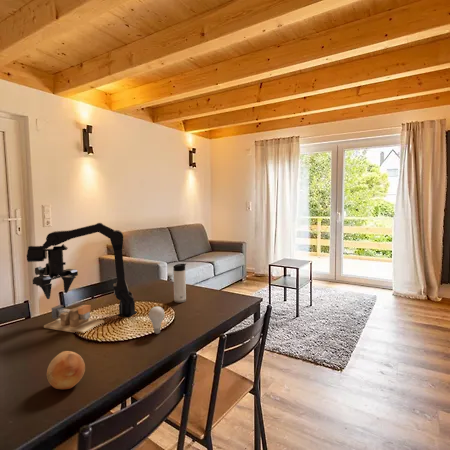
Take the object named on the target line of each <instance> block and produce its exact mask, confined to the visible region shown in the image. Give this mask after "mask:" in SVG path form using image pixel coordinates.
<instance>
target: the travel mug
mask: <svg viewBox="0 0 450 450" xmlns="http://www.w3.org/2000/svg"><path fill="white" fill-rule="evenodd" d="M186 264H187V263H177V264H175V265H173V272H172V273H173V301H174V302H175V303H179V304H181V303H185V302H187V293H186V292H187V291H186V290H187V287H186V284H187V283H186V278H187V277H186V266H187V265H186Z"/></svg>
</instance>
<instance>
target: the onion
mask: <svg viewBox="0 0 450 450" xmlns="http://www.w3.org/2000/svg"><path fill="white" fill-rule="evenodd" d="M85 371H86V364H85V360H84V359H83V358H82V356H81V355H80V354H78V353H77V352H75V351H71V350H62V351H61V352H60V353H58V354H57V355H56V356H54V357H53V358H52V360H51V361H50V362H49V364H48V366H47V370H46V378H47V381H48V383H49V384H50V385H51V387H53V388H54V389H57V390H69V389H72V388H74V387H75V386H76V385H77V384H78V383H79V382H80V381H81V380H82V378H83V377H84V374H85Z"/></svg>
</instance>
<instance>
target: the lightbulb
mask: <svg viewBox="0 0 450 450" xmlns="http://www.w3.org/2000/svg"><path fill="white" fill-rule="evenodd" d="M164 317H165V310H164V308H163V307H161V306H157V305H156V306H154V307H151V309H149V312H148V318H149V320H150V322H151V323H152V328H153V333H154V334H156V335H158V334H160V333H161V328H162V321H163V320H164Z"/></svg>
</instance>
